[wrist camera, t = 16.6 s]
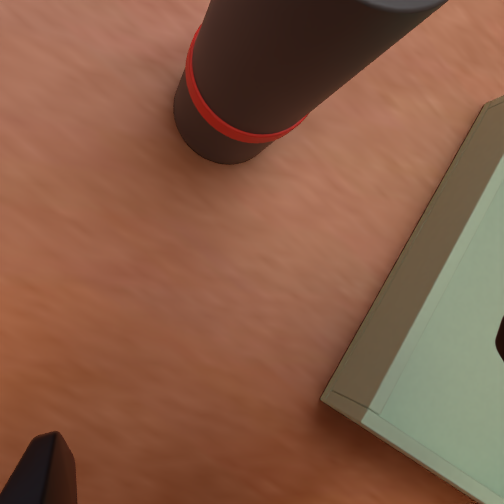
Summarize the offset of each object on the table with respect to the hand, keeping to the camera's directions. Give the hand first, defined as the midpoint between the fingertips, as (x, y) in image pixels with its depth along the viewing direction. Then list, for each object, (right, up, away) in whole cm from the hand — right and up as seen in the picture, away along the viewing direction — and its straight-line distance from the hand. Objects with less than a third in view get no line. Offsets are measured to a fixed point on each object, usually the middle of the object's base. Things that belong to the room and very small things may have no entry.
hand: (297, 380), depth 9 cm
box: (+12, -1, +15) cm, 19 cm away
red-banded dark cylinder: (-2, +8, +11) cm, 14 cm away
